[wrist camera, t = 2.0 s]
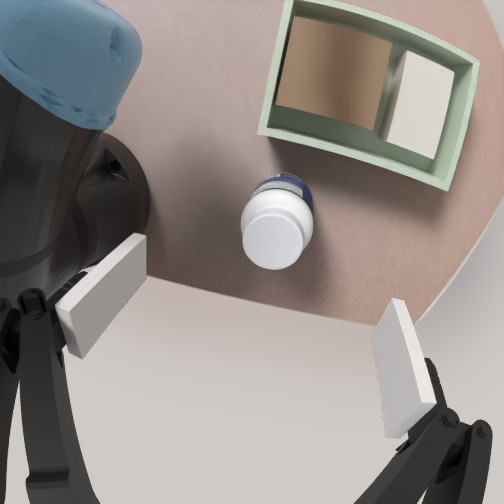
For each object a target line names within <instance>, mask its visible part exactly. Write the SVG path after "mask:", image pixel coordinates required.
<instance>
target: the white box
mask: <svg viewBox="0 0 504 504" xmlns="http://www.w3.org/2000/svg"><path fill="white" fill-rule="evenodd" d="M454 73H455V72H453V71H451V70H449V69H447V68H445V67H443V66H441V65H439V64H437V63H435V62H433V61H431V60H429V59H426V58H424V57H422V56H420V55H417V54H415V53H413V52H410V51H408V50H407V51H405V52H403V53H401V54H399V55H397V58H396V63H395V68H394V73H393V78H392V82H391V87H390V91H389V96H388V100H387V104H386V109H385V113H384V117H383V121H382V125H381V129H380V132H379V136H378V138H380V139H382V140H384V141H386V142H389V143H392V144H395V145H398V146H400V147H403V148H406V149H408V150H411V151H413V152H416V153H419V154H421V155H424V156H426V157H428V158H431V159H433V160H434V157H435V154H436V150H437V147H438V143H439V140H440V136H441V132H442V128H443V124H444V120H445V116H446V112H447V108H448V103H449V99H450V94H451V89H452V84H453V78H454Z"/></svg>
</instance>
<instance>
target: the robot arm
mask: <svg viewBox="0 0 504 504" xmlns="http://www.w3.org/2000/svg"><path fill="white" fill-rule="evenodd" d="M141 57H142V42H141V39H140V36H139V34H138V32H137V31H136V29H135V28H134V27H133V26H132V25H131V24H130V23H129V22H128V21H127V20H125V19H124V18H123V17H122V16H120V15H119V14H118V13H116V12H115V11H114V10H112V9H111V8H109V7H108V6H106V5H105V4H103V3H101V2H100V1H98V0H0V504H4V501H5V494H6V473H7V457H8V446H9V437H10V429H11V421H12V415H13V409H14V404H15V398H16V393H17V388H18V383H19V379H20V402H21V415H22V426H23V434H24V442H25V448H26V455H27V461H28V465H29V473H30V474H29V476H28V477H27V478H26V489H27V494H28V498H29V501H30V504H100V502H99V500H98V499H97V497H96V495H95V493H94V491H93V489H92V486H91V483H90V480H89V477H88V473H87V470H86V467H85V463H84V460H83V456H82V453H81V449H80V445H79V441H78V437H77V433H76V429H75V424H74V420H73V415H72V410H71V404H70V399H69V393H68V387H67V380H66V373H65V366H64V356H63V352H62V348H63V347H64V346H65V345H67V348H68V351H69V353H71V354H73V355H75V356H77V357H79V358H81V359H83V358H84V357H85V356H86V354H87V353H88V351H89V350H90V349H91V348H92V346H93V345H94V344H95V342H96V341H97V340H98V338H99V337H100V336H101V334H102V333H103V332H104V330H105V329H106V328H107V327H108V325H109V324H110V323H111V322H112V320H113V319H114V318H115V317H116V315H117V314H118V313H119V311H120V310H121V309H122V308H123V307H124V305H125V304H126V303H127V302H128V300H129V299H130V298H131V297H132V295H133V294H134V293H135V292H136V291H137V289H138V288H139V287H140V286H141V284H142V283H143V282H144V281H145V280H146V236H145V235H142V233H143V231H144V229H145V226H146V223H147V219H148V214H149V194H148V188H147V183H146V180H145V177H144V174H143V172H142V169H141V167H140V165H139V163H138V161H137V160H136V158H135V157H134V155H133V154H132V153H131V151H130V150H129V149H128V148H127V147H126V146H125V145H124V144H123V143H122V142H120V141H119V140H118V139H116V138H115V137H113V136H111V135H109V134H106V133H103V132H104V130H105V129H107V128H108V127H109V126H110V125H111V124H112V123H113V121H114V120H115V118H116V115H117V114H116V111H117V106H118V104H119V102H120V100H121V98H122V96H123V94H124V92H125V90H126V89H127V87H128V85H129V83H130V81H131V79H132V77H133V76H134V74H135V72H136V70H137V68H138V66H139V64H140V61H141ZM95 265H96V266H95ZM91 266H95V267H94V268H93V269H92V270H91V271H90V272H89V273H88V272H85V271H82V272H80V271H81V270H82V269H86V268H88V267H91ZM78 272H80V273H78ZM77 273H78V274H77ZM371 338H372V344H373V349H374V355H375V361H376V367H377V374H378V381H379V387H380V395H381V402H382V410H383V420H384V429H385V438H401V437H402V436H403V435H404V434H405V433H407V432H408V437H409V439H408V440H406V441H405V442H404V443H403V444H402V445H400V446H399V447H398V448H397V449H396V451H398V452H397V453H396V454H395V456H394V457H393V458H392V460H391V461H390V462H389V463H388V465H387V466H386V467H385V468H384V470H383V471H382V472H381V473H380V475H379V476H378V477H377V478H376V479H375V481H374V482H373V483H372V484H371V485H370V486H369V488H368V489H367V490H366V491H365V492H364V493H363V494H362V495H361V496H360V497H359V499H357V500H356V502H355V503H354V504H417V502H418V501H419V499H420V498H421V496H422V495H423V493H424V492H425V490H426V489H427V490H426V493H425V496H424V499H423V502H422V504H482V501H483V497H484V492H485V487H486V482H487V476H488V470H489V463H490V455H491V447H492V436H493V435H492V429H491V427H490V425H489V424H488V423H487V422H485V421H484V420H477V421H476V422H475V423H474V424H472V425H468V424H465V423H462V422H460V420H459V417H458V415H457V414H456V412H455V411H454V410H452V409H450V408H447V405H446V401H445V397H444V394H443V390H442V387H441V384H440V380H439V377H438V374H437V370H436V367H435V366H434V364H433V363H432V361H431V360H430V359H429V358H424V357H423V354H422V350H421V347H420V344H419V342H418V338H417V336H416V332H415V330H414V327H413V324H412V321H411V318H410V316H409V313H408V310H407V308H406V305H405V302H404V300H399V299H395V298H391V300H390V302H389V304H388V306H387V308H386V310H385V311H384V313H383V315H382V317H381V319H380V321H379V323H378V324H377V326H376V328H375V330H374V332H373V334H372V335H371ZM427 487H428V488H427Z"/></svg>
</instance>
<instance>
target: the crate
mask: <svg viewBox="0 0 504 504" xmlns="http://www.w3.org/2000/svg"><path fill="white" fill-rule="evenodd" d="M294 16H297V17H302V18H307V19H312V20H316V21H321V22H325V23H329V24H333V25H337V26H341V27H345V28H348V29H352V30H355V31H358V32H362V33H365V34H368V35H371V36H374V37H377V38H380V39H383V40H386V41H388V42H391V43H392V46H391V51H390V56H389V61H388V66H387V71H386V76H385V81H384V85H383V90H382V94H381V98H380V103H379V107H378V111H377V115H376V119H375V123H374V127H373V131H372V130H369V129H366V128H363V127H360V126H357V125H354V124H350V123H347V122H344V121H340V120H337V119H333V118H329V117H326V116H322V115H318V114H314V113H310V112H306V111H302V110H298V109H293V108H289V107H284V106H280V105H275V104H276V99H277V94H278V90H279V85H280V80H281V75H282V71H283V66H284V61H285V57H286V52H287V47H288V43H289V38H290V33H291V29H292V24H293V19H294ZM407 50H408V51H410V52H413V53H415V54H417V55H420V56H422V57H424V58H426V59H429V60H431V61H433V62H435V63H437V64H439V65H441V66H443V67H445V68H447V69H449V70H451V71H453V72H455V73H454V78H453V84H452V89H451V94H450V99H449V103H448V108H447V112H446V116H445V120H444V124H443V128H442V132H441V136H440V140H439V143H438V147H437V150H436V154H435V157H434V160H433V159H431V158H428V157H426V156H424V155H421V154H419V153H416V152H413V151H411V150H408V149H406V148H403V147H400V146H398V145H395V144H392V143H389V142H386V141H384V140H382V139H380V138H378V136H379V132H380V129H381V125H382V121H383V117H384V113H385V109H386V104H387V100H388V96H389V91H390V87H391V82H392V78H393V73H394V68H395V63H396V58H397V55H399V54H401V53H403V52H405V51H407ZM479 63H480V61H479V60H477V59H476V58H474V57H472V56H471V55H469V54H467V53H465V52H464V51H462V50H460V49H458V48H456V47H454V46H453V45H451V44H449V43H447V42H445V41H443V40H441V39H439V38H437V37H435V36H433V35H430V34H428V33H426V32H424V31H422V30H419V29H417V28H415V27H412V26H410V25H407V24H405V23H403V22H400V21H397V20H395V19H392V18H389V17H387V16H384V15H381V14H378V13H375V12H372V11H369V10H366V9H363V8H359V7H356V6H352V5H349V4H345V3H341V2H337V1H333V0H285V3H284V8H283V12H282V17H281V21H280V26H279V30H278V35H277V39H276V44H275V49H274V53H273V58H272V63H271V68H270V72H269V77H268V82H267V87H266V92H265V96H264V101H263V106H262V111H261V116H260V121H259V126H258V131H257V134H260V135H265V136H270V137H274V138H279V139H283V140H287V141H292V142H296V143H300V144H304V145H308V146H312V147H316V148H319V149H323V150H327V151H331V152H334V153H338V154H341V155H345V156H348V157H351V158H355V159H358V160H361V161H364V162H368V163H371V164H374V165H377V166H380V167H383V168H386V169H389V170H392V171H395V172H397V173H400V174H403V175H406V176H409V177H411V178H414V179H417V180H419V181H422V182H425V183H427V184H430V185H432V186H435V187H437V188H440V189H442V190H445V191H447V192H448V190H449V187H450V184H451V181H452V178H453V175H454V172H455V169H456V165H457V162H458V159H459V155H460V152H461V148H462V145H463V141H464V137H465V134H466V130H467V126H468V122H469V117H470V113H471V108H472V104H473V99H474V94H475V88H476V83H477V77H478V70H479Z"/></svg>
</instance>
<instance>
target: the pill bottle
mask: <svg viewBox="0 0 504 504" xmlns="http://www.w3.org/2000/svg"><path fill="white" fill-rule="evenodd" d="M241 232H242V235H243V239H242V241H243V248H244V250H245V253H246V254H247V256H248V257H249V259H250V260H251V261H252V262H253V263H255V264H256V265H258V266H260V267H262V268H266V269H271V270H278V269H283V268H286V267H288V266H290V265H292V264H293V263H294V262H295V261H297V259H298V258H299V256H300V255H301V253H302V250H304V249H305V247H306V246H307V245H308V243H309V242H310V240H311V237H312V233H313V206H312V196H311V192H310V189H309V187H308V186H307V184H306V183H305V182H304V181H303V180H302V179H301V178H300V177H298V176H296V175H294V174H291V173H288V172H277V173H273V174H270V175H268V176H267V177H265V178H264V179H263V180H262V181H261V182H260V183H259V184H258V186H257V187H256V189H255V191H254V193H253V194H252V196H251V198H250V199H249V201H248V203H247V204H246V206H245V208H244V210H243V213H242V216H241Z"/></svg>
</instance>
